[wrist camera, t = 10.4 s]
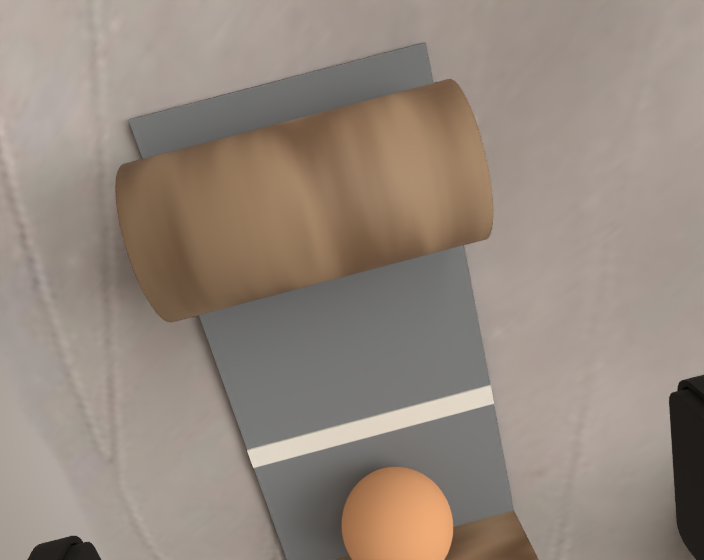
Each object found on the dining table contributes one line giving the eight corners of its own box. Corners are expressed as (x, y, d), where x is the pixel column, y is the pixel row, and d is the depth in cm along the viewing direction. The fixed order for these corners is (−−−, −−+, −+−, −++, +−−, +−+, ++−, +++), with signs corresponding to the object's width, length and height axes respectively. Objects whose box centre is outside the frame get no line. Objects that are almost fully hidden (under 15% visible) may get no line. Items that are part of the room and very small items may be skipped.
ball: (429, 432, 35) (462, 529, 30) (441, 494, 39) (472, 590, 34) (323, 460, 35) (339, 562, 30) (346, 520, 39) (363, 619, 34)
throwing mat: (424, 42, 30) (426, 42, 29) (515, 526, 40) (518, 532, 39) (130, 119, 29) (127, 120, 29) (297, 585, 39) (297, 591, 39)
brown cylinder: (431, 76, 30) (474, 82, 23) (458, 217, 32) (503, 260, 26) (139, 152, 30) (98, 181, 23) (189, 288, 32) (164, 349, 25)
